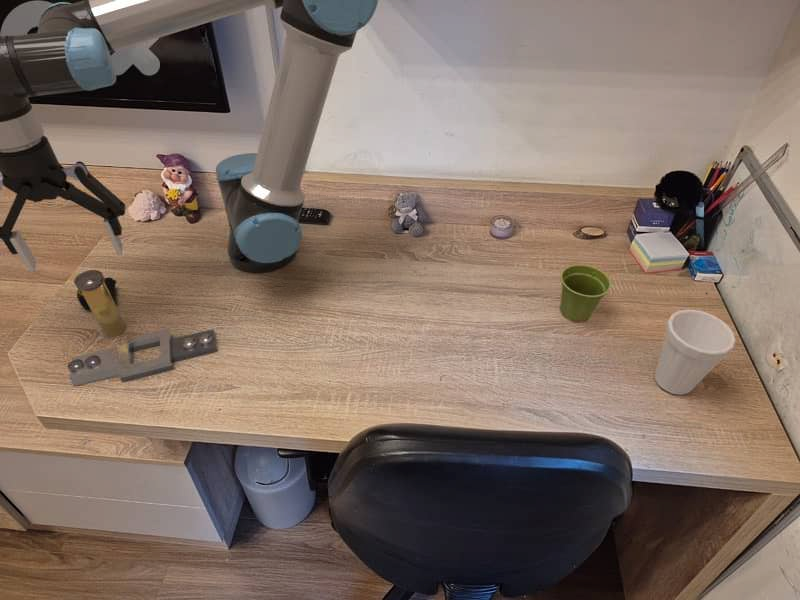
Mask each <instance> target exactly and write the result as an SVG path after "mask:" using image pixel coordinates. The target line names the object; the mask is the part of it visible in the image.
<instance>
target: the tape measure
mask: <svg viewBox="0 0 800 600" xmlns="http://www.w3.org/2000/svg"><path fill="white" fill-rule="evenodd" d="M104 278H105V280H104V282H105V284H106V286H107V288H108V290H109V292H110V294H111V296H112V298H113V301H114V303H115V301H116V299H115V294H116V293H115V292H116V284H117V282H118V281H117V280H116V279H114V278H112V277H109V276H108V277H104ZM76 298H77V301H78V303H79V304H80V305H81V307H83V308H84V309H86V310H89V311H91V309H90V307H89V305H88V303H87V301H86V300H85V298H84V296H83V294H82V292H81V290H79V289H77V290H76Z"/></svg>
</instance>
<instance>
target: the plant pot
mask: <svg viewBox="0 0 800 600" xmlns="http://www.w3.org/2000/svg"><path fill="white" fill-rule="evenodd" d="M560 282H561V295H560V304H559V310H560V313H561V315H562V316H563V318H565V319H566V320H568V321H570V322H574V323H577V322H578V323H579V322H583V323H584V322H587V321H589V320H590V319H591V317H592V315H593V313H594V311H595V310H596V308H597V306H598V304H599V303H600V301H601V300H602V298H604V296H605V295H607V294H608V293H609V292H610V290H611V288H612V282H611V279H610V277H609V276H608V275H607V273H606V272H604V271H603V270H602V269H599V268H598V267H596V266H592V265H589V264H579V263H578V264H573V265H569V266H566V267H564V269H563V270H562V271H561V273H560Z"/></svg>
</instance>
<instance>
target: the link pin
mask: <svg viewBox="0 0 800 600" xmlns="http://www.w3.org/2000/svg"><path fill="white" fill-rule="evenodd" d="M105 278H106V277H105V276H104V274H103V272H102V271H100V270H98V269H89V270H85V271H83V272H80V273H79V274H78V275H77V276H75V278H74V280H73V283H74V285H75V287H76V289H77V290H78V289H79V290H81V292H82V294H83V296H84V298H85V300H86V301H87V303H88V305H89V307H90V309H91V310H90V311H91V313H92V314H93V316H94V318H95V320H96V321H97V324H98V326H99V327H100V329H101V330H102V332H103V335H104V336H105V337H107V338H115V337H118V336H120V335H122V334H123V333H124V332H125V331H126V328H127V324H126V323H125V321H124V319H123V317H122V315H121V313H120V311H119V309H118V307H117V305H116V303H115V302H114V301H113V298H112V296H111V294H110V292H109V290H108V288H107V286H106V284H105V282H104V280H105Z"/></svg>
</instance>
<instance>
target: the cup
mask: <svg viewBox="0 0 800 600" xmlns="http://www.w3.org/2000/svg"><path fill="white" fill-rule="evenodd" d="M735 344H736V337H735V334H734V331H733V330H732V329H731V328H730V326H729V325H728V324H727V323H726V322H725V321H723V320H721V319H720V318H719V317H717V316H715V315H713V314H710V313H708V312H705V311H703V310H698V309H697V310H696V309H683V310H682V309H681V310H677V311H676V312H674V313H673V314H671V315H670V317H669V319H668V321H667V324H666V328H665V338H664V341H663V345H662V348H661V351H660V355H659V359H658V363H657V367H656V369H655V373H654V379H655V382H656V384H657V385H658V386H659V387H660V388H661V389H662V390H664V391H666V392H668V393H670V394H673V395H678V396H681V395H687V394H689V393H690V392H691V391H692V390H693V389H694V388H695V387H697V385H698V384H699V383H700V382H701V381H702V380H703V379H704V378H705V377H707V375H708V374H709V373H710V372H711V371H712V370H713V369H714V368H715V367H716V366H717V365H718V364H719V363H720V362H721V360H722V359H724V358H725V357H726V356H728V354H730V352H731V351H733V349H734V347H735Z"/></svg>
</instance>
